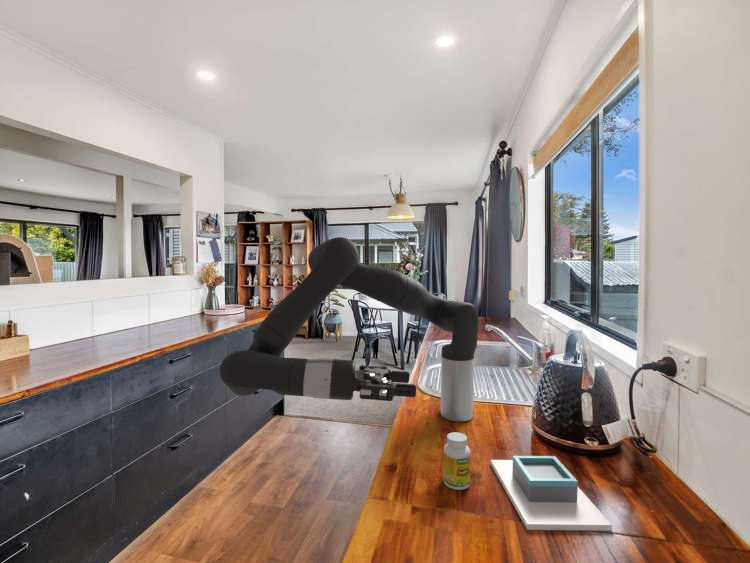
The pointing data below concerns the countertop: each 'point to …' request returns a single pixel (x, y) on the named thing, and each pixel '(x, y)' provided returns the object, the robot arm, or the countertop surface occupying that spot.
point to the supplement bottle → (456, 462)
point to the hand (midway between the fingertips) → (412, 383)
